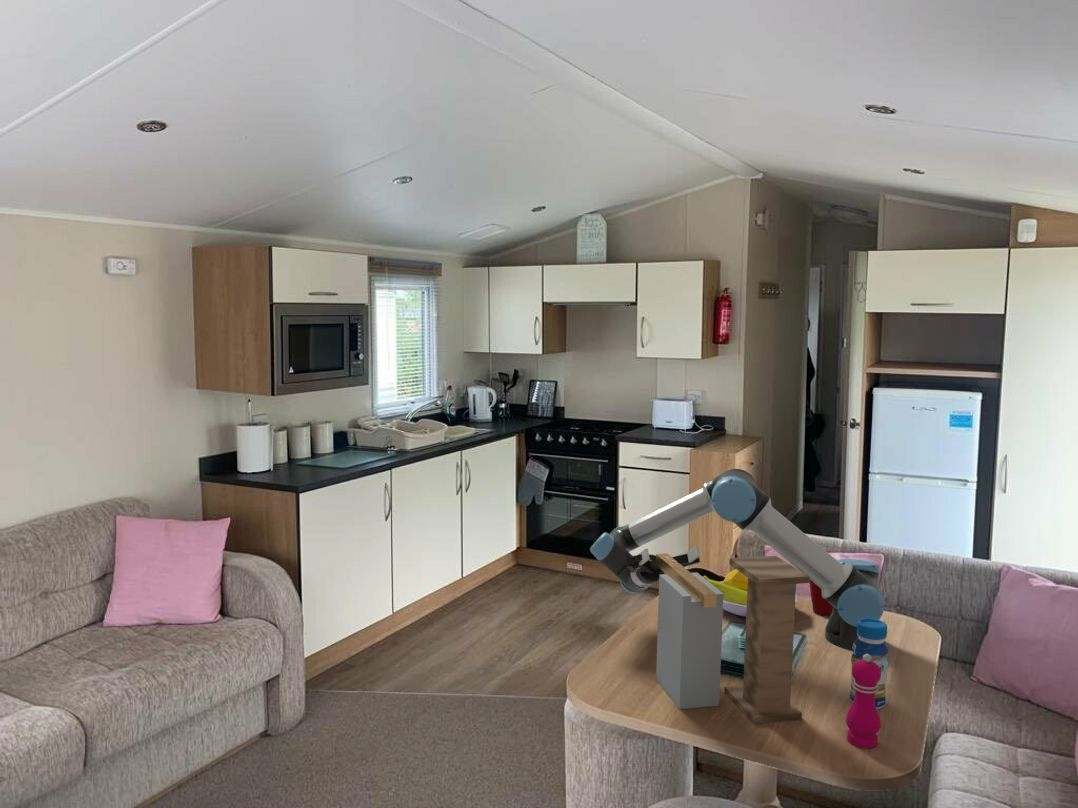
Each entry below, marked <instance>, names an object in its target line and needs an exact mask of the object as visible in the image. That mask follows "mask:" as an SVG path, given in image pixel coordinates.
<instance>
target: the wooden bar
mask: <svg viewBox="0 0 1078 808" xmlns="http://www.w3.org/2000/svg"><path fill="white" fill-rule="evenodd" d="M655 556H656V566H658V567H659V568H660V569H661V570H662V571H663V572H664V574H667V575H668V576H670V577H671V578H672V579H673V580H674V581H675V582H676V583H677V584H678V585H680V586H681V587H682V588H683V589H684V590H685V591H686V592H687V593H689V594H690V595H691V597H692V598H694V599H695V600H696V601H697V602H698V603H699V604H700V605H701V606H703V607H704V608H706V607H716V598H717V594H716V593H715V592H713V591H712V590H711V589H710V588H709V587H707V586H706V585H705V584H704V583H703V582H701V581H700V580H699V579H698V578H696V577H695V576H694V575H693V574H692V573H693V572H690V571H689V570H688V569H687V568H686V567H683V566H682V565H681V564H679V563H678V562H677V561H676V560H675V559H673V558H672V557H673V556H671V555H670V554H669V553H656V554H655Z"/></svg>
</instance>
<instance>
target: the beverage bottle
mask: <svg viewBox="0 0 1078 808" xmlns="http://www.w3.org/2000/svg"><path fill="white" fill-rule="evenodd" d="M857 635H858V636H859V637H858V638H857V639H856V640H855V642H854V644H853V646H852V649H851V650H852V652H853V653H852V654H851V656H850V662H851V667H852V666H853V664H854V663H855V662H856V661H858V660H862V659H863V655H865V654H869V655H870V656H871V658H872V659H871V661H873V662H875V663H876V664H877V665H878V666H879V668H880V670H881V678H880V680H879V681H878V682H877V684H878V687H877V689H878V691H877V692H875V706H876V709H877V710H879V709H883V708H884V707H885V706H886V705H887V704H886V703H887V698H886V694H887V693H886V692H887V681H888V679H887V678H888V668H889V665H890V661H889V659H888V657H889V655H890V650H889V646H888V645H887V643H886V641H885V640H886V639H887V637H888V636H887V635H888V625H887V623H886V622H885V621H883V620H880V619H879V620H877V619H872V618H862V619H859V620H858V622H857ZM850 671H851V673H850V675H851V676H850V690H849V702H851V704H852V703H853V701H854V698H855V689H854V687H853V685H854V683H853V681H854V680H855V679H854V677H853V675H852V670H850Z"/></svg>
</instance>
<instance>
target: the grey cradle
mask: <svg viewBox="0 0 1078 808" xmlns="http://www.w3.org/2000/svg"><path fill="white" fill-rule="evenodd" d="M691 573H692V574H693V575H694V576H695V577H696V578H698V579H699V580H700V581H701V582H703V583H704V584H705V585H706V586H707V587H709V588H710V589H711V590H712V591H713V592H715V593H716V594H717V598H716V607H706V608H704V607H703V606H701V605H700V604H699V603H698V602H697V601H696V600H695V599H694V598H692V597H691V595H690V594H689V593H687V592H686V591H685V590H684V589H683V588H682V587H681V586H680V585H678V584H677V583H676V582H675V581H674V580H673V579H672V578H671V577H670V576H668V575H667V574H665V573H664V574H662V575H659V580H658V606H657V607H658V608H657V610H658V611H657V612H658V613H657V636H656V637H657V643H656V669H655V670H656V672H655V681H657V683H658V684H659V685H660V687H661V688H662V689H663V690H664V692H665V693H666V694H667V695H668V697H669V698H670V699H671V701H672V702H673V703H674V705H675V706H676V707H677V708H678V710H684V709H685V710H686V709H687V710H688V709H697V708H707V707H716V706H718V707H719V706H720V696H721V695H720V692H721V691H720V688H721V667H722V665H721V664H722V645H723V644H722V643H723V642H722V639H723V638H722V637H723V617H724V616H723V615H724V609H723V593H722V592H721V591H719V590H718V589H717V588H716V587H714V586H713V585H712V584H711V583H710V582H708V581H707V580H706V579H705V578H703V576H702V575H701V574H700V573H698V572H697V571H696V572H691Z"/></svg>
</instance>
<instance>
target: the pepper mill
mask: <svg viewBox="0 0 1078 808" xmlns="http://www.w3.org/2000/svg"><path fill="white" fill-rule="evenodd" d="M871 659H872V658H871V656H870V655H869V654H865V655H863V659H862V660H858V661H856V662H855V663H854V664H853V666H852V665H851V671H852V675H853V677H854V679H855V680H854V681H853V683H854V685H853V687H854V689H855V698H854V701H853V703H852V702H851V705H850V707H849V708H848V710H847V713H846V716H845V723H846V726H847V728H848V729H847V732H846V740H847V741H848V743H850V744H851V745H853V746H855V747H857V748H862V749H872V748H873V749H874V748H875V747H876V746H877V745H878V738H879V735H878V733H879V731H880V730H881V728H882V725H881V724H882V721H881V717H880V714H879V712H878V711H879V710H878V709H876V706H875V692H877V691H878V689H877V687H878V684H877V682H878V681H879V680H880V678H881V670H880V668H879V666H878V665H877V664H876V663H875V662H873V661H871Z"/></svg>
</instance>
